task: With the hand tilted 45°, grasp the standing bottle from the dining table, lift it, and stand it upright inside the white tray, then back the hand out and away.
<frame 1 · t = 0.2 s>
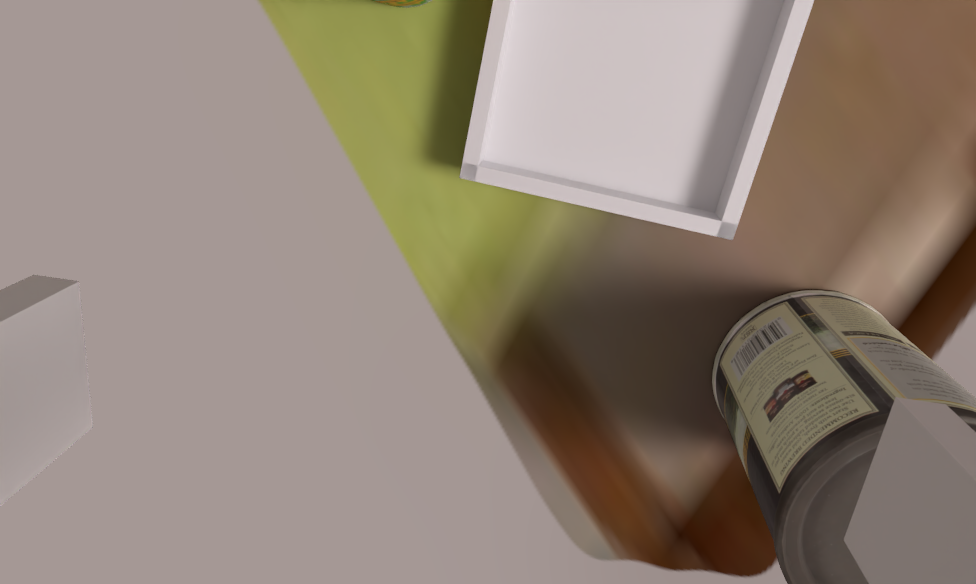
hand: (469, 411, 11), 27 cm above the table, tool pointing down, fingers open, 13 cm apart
white tray: (645, 0, 34), on the table
coffee can: (805, 372, 39), on the table
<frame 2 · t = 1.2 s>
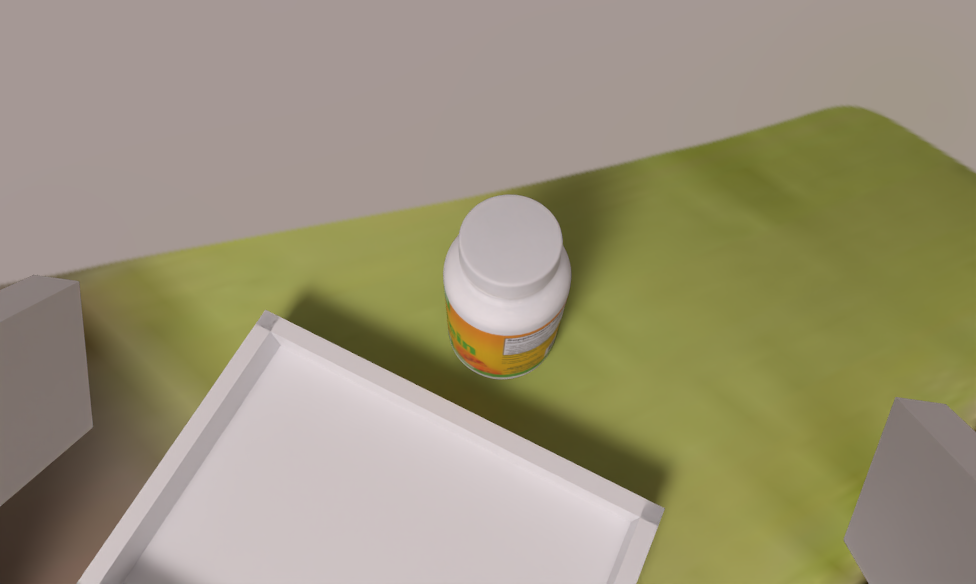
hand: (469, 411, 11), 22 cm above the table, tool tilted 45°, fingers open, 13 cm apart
white tray: (381, 557, 31), on the table
supplement bottle: (501, 332, 35), on the table
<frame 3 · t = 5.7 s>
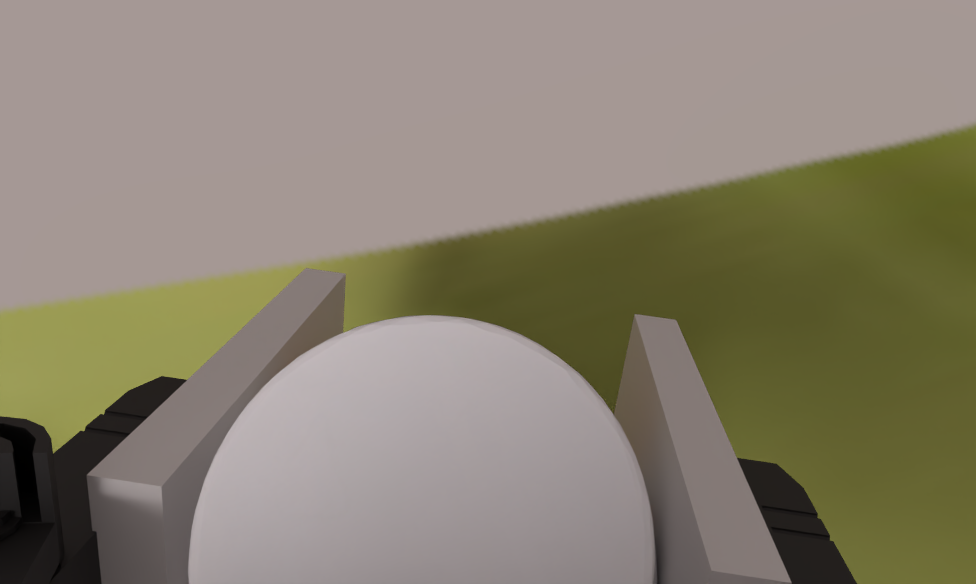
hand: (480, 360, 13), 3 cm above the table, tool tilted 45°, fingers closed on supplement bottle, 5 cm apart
supplement bottle: (453, 577, 15), on the table, touching gripper
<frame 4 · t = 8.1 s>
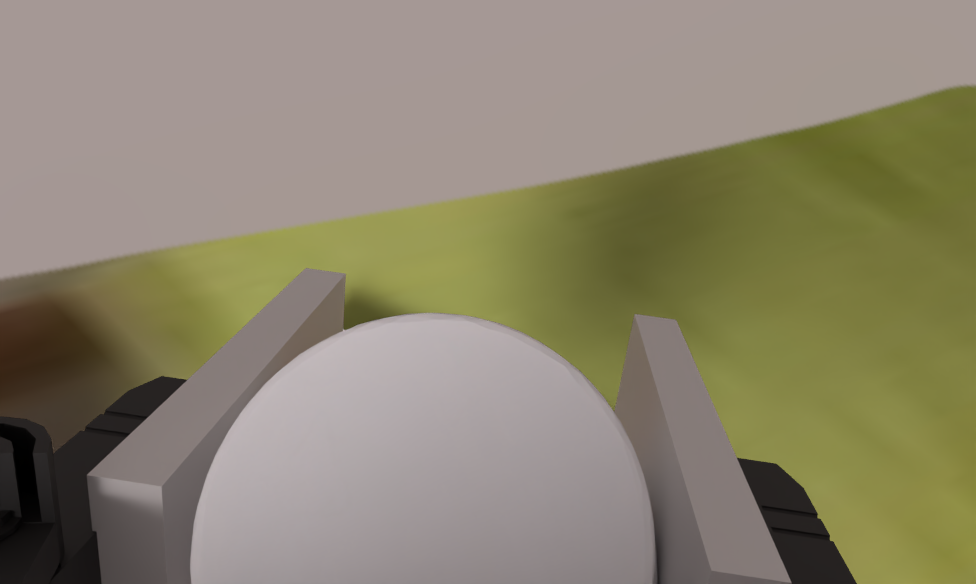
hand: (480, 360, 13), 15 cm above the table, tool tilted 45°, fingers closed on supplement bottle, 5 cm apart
supplement bottle: (453, 576, 15), point 12 cm above the table, touching gripper
when the fingers open (5 cm above the table, at t = 10.4 s): supplement bottle drops 1 cm, resting on white tray.
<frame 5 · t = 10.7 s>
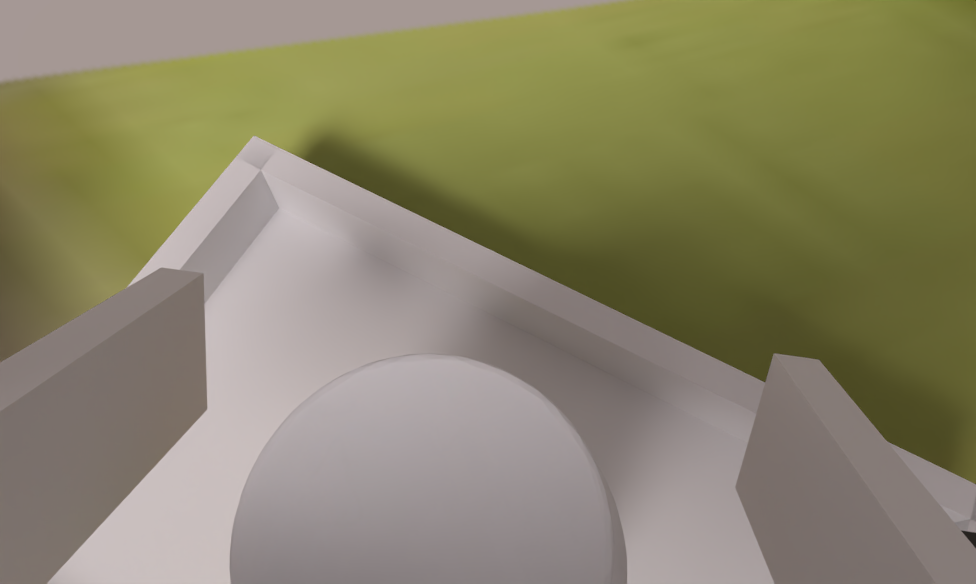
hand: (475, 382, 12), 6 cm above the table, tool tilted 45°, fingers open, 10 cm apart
white tray: (454, 580, 16), on the table
supplement bottle: (451, 581, 16), resting on white tray
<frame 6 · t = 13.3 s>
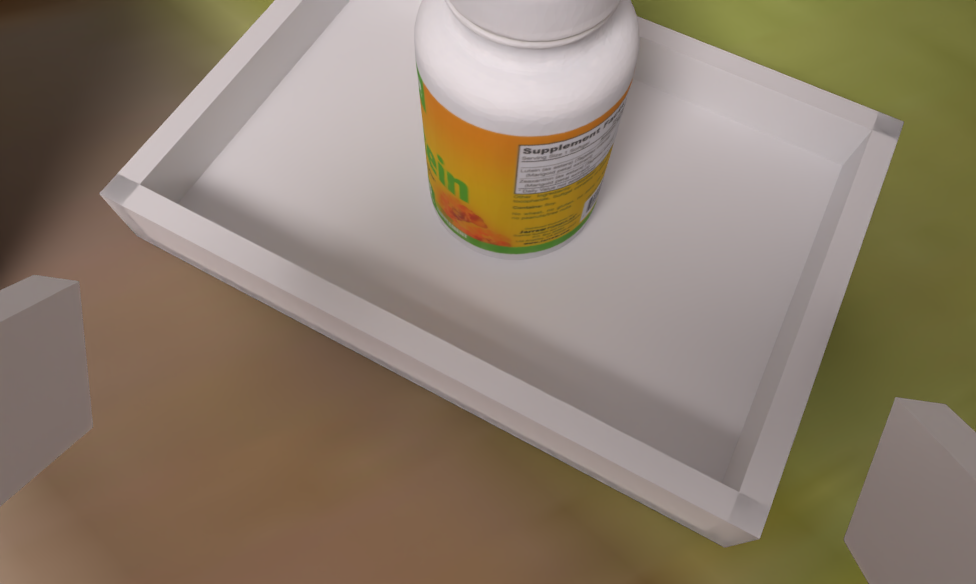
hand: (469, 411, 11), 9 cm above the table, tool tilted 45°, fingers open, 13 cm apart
white tray: (513, 200, 23), on the table
supplement bottle: (512, 194, 23), resting on white tray
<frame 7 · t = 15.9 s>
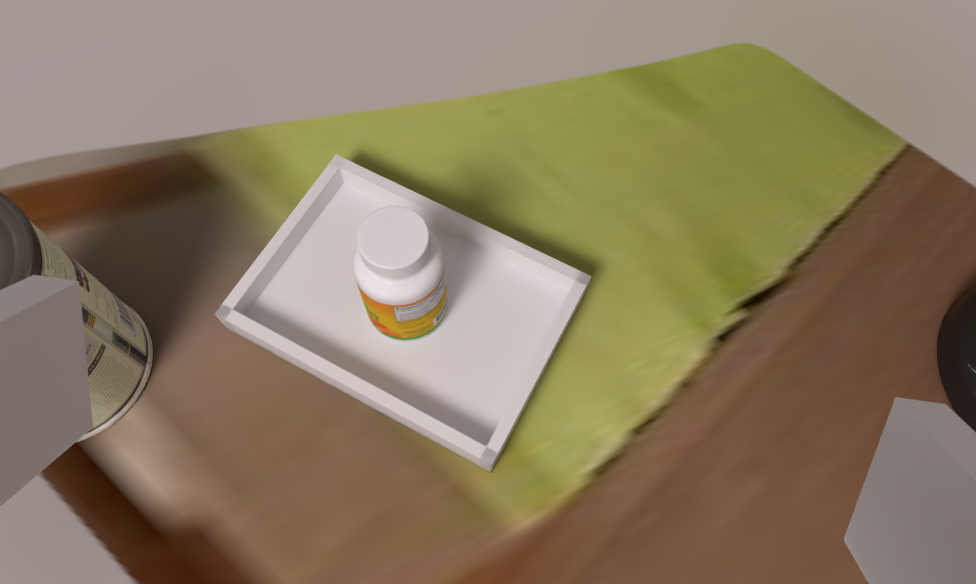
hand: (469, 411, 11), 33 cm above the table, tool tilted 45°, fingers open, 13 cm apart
white tray: (409, 309, 48), on the table
supplement bottle: (408, 307, 47), resting on white tray
coffee can: (74, 369, 46), on the table
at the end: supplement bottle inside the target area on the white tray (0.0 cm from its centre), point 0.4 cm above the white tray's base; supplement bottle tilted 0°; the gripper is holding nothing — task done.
